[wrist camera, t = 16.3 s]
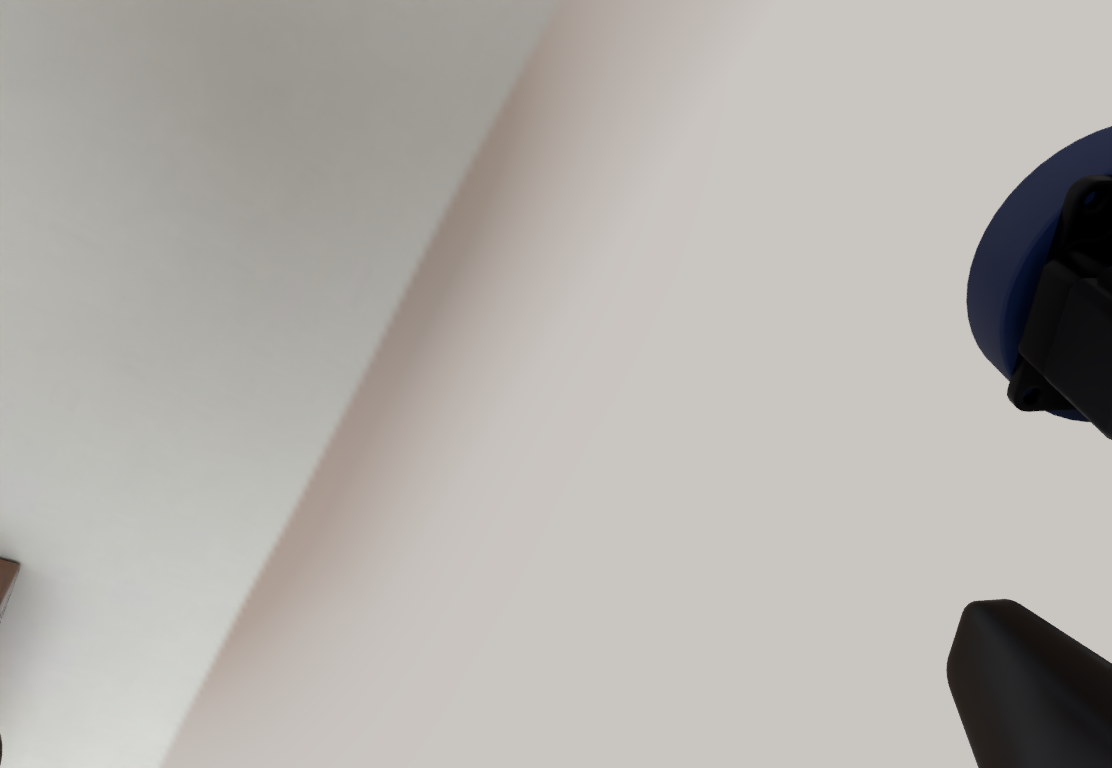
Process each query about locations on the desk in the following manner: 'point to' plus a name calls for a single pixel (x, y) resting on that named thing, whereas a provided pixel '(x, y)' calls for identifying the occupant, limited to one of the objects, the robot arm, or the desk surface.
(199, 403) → the desk surface
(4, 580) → the riser
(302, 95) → the desk surface
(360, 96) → the desk surface
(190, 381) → the desk surface
